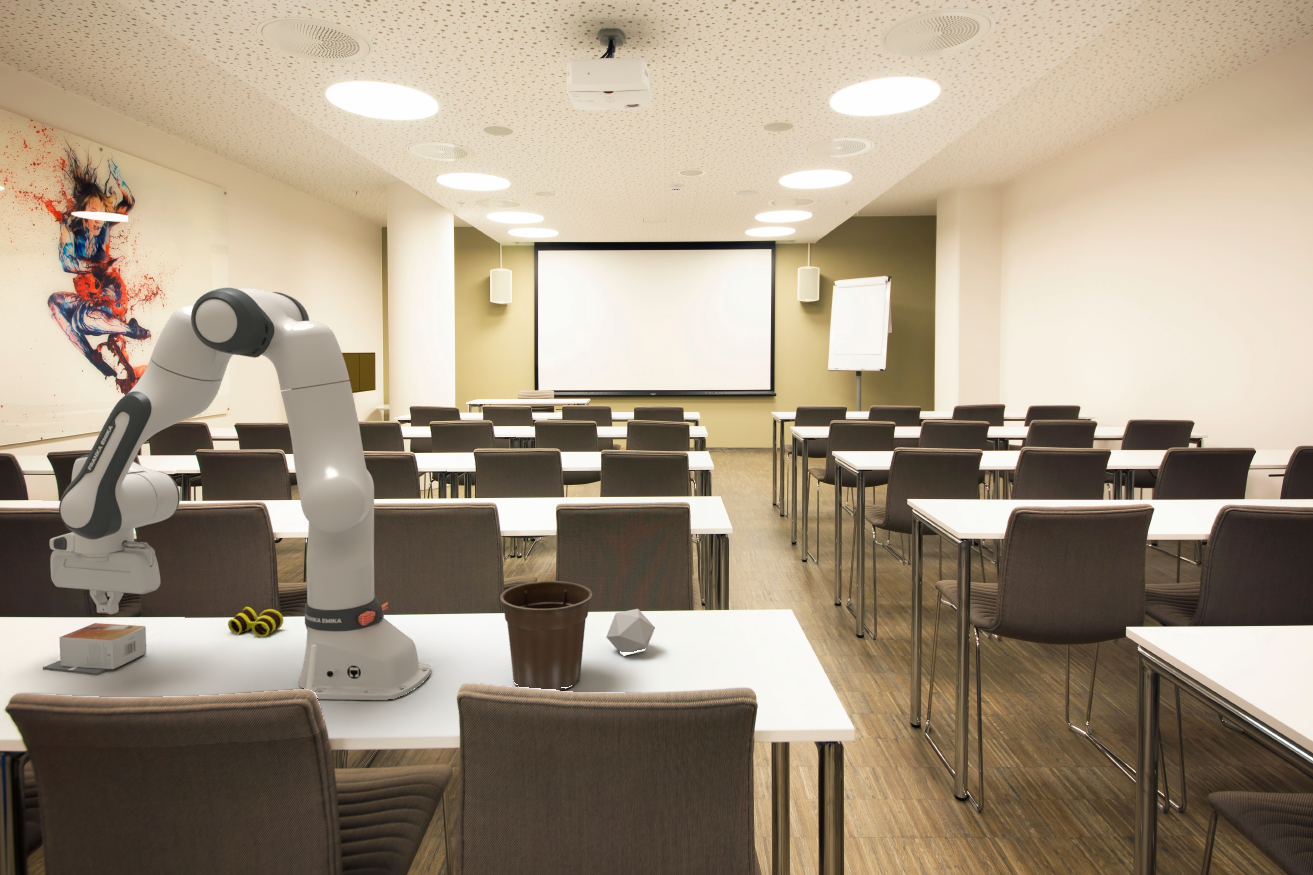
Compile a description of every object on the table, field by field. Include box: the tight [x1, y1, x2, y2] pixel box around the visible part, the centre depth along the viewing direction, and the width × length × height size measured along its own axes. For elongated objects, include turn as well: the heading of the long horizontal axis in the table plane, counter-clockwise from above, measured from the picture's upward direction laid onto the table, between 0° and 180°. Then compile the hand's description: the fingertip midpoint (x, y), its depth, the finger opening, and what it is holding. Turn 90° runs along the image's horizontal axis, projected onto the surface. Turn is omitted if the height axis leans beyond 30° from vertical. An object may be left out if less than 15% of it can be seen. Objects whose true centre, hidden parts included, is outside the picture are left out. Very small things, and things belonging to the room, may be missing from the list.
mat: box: [42, 654, 146, 676], centre depth 137 cm, size 12×10×1 cm
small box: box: [58, 622, 147, 670], centre depth 136 cm, size 8×6×10 cm
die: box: [606, 608, 656, 652], centre depth 147 cm, size 8×9×10 cm
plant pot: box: [500, 580, 593, 691], centre depth 132 cm, size 16×16×16 cm
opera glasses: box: [227, 606, 284, 638], centre depth 154 cm, size 10×5×5 cm, turn 78°
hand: (107, 612), depth 135 cm, fingers closed
